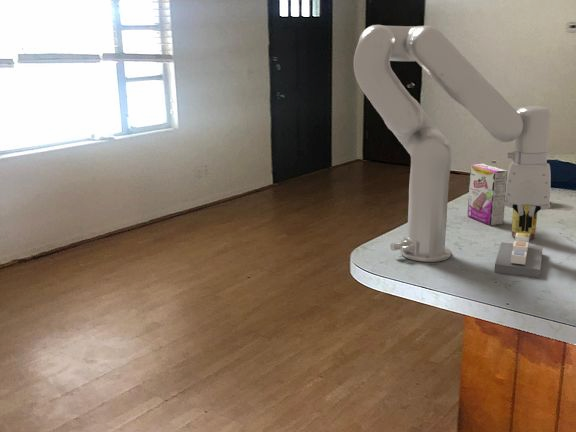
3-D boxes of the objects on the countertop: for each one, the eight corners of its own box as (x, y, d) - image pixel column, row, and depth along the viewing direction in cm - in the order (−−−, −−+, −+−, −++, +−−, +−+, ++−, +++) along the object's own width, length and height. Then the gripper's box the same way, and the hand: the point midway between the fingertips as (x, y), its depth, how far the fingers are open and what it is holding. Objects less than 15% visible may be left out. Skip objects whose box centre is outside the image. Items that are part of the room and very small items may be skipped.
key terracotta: (525, 261, 147) (527, 246, 146) (511, 259, 148) (513, 244, 147) (526, 257, 150) (528, 242, 149) (512, 255, 151) (514, 240, 150)
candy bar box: (466, 216, 189) (469, 164, 185) (479, 214, 191) (483, 163, 187) (490, 226, 179) (494, 171, 175) (503, 224, 181) (508, 170, 177)
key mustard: (527, 251, 154) (528, 236, 152) (514, 249, 155) (515, 235, 154) (528, 247, 156) (529, 233, 155) (514, 245, 158) (516, 231, 157)
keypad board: (539, 277, 142) (540, 269, 141) (494, 272, 146) (494, 264, 145) (542, 254, 157) (542, 246, 156) (500, 249, 160) (501, 242, 160)
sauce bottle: (536, 241, 166) (544, 169, 161) (512, 240, 167) (519, 168, 162) (532, 233, 172) (539, 164, 167) (509, 232, 174) (515, 163, 168)
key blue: (524, 271, 144) (526, 255, 143) (510, 269, 145) (511, 254, 144) (525, 266, 147) (526, 251, 146) (511, 264, 148) (512, 249, 147)
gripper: (496, 159, 149) (492, 231, 154) (563, 162, 143) (557, 237, 148) (499, 154, 155) (495, 223, 160) (564, 156, 149) (557, 228, 155)
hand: (524, 229), depth 154 cm, fingers closed
